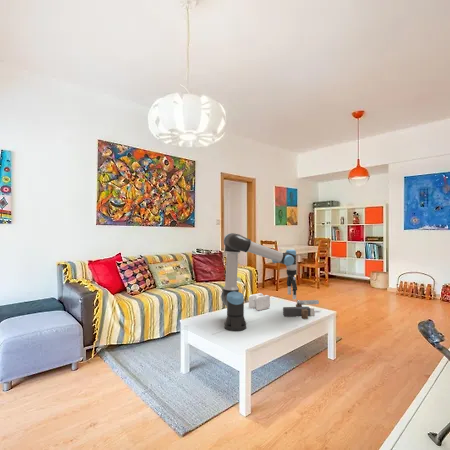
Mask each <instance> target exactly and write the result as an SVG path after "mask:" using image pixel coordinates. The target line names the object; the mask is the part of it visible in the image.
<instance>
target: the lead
mask: <svg viewBox="0 0 450 450" xmlns="http://www.w3.org/2000/svg"><path fill="white" fill-rule="evenodd" d="M301 309H307V310H308V317H315V308H314V307H313V306H302V307H296V306H283V307H282V315H283V317H284V318H288V317H289V318H291V317H292V318H293V317H295V318H296V316H298V317H301Z"/></svg>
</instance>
